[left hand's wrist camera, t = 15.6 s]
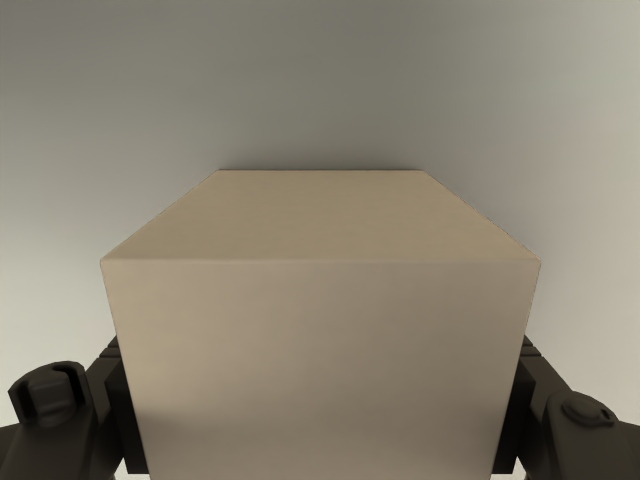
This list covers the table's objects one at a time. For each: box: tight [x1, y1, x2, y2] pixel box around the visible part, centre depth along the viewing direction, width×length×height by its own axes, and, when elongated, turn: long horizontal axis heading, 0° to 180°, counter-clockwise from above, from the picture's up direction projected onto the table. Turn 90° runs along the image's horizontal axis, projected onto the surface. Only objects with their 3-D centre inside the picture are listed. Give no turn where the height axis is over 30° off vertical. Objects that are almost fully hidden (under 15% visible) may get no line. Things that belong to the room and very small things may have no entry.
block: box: [100, 170, 541, 480], centre depth 11 cm, size 8×9×8 cm
